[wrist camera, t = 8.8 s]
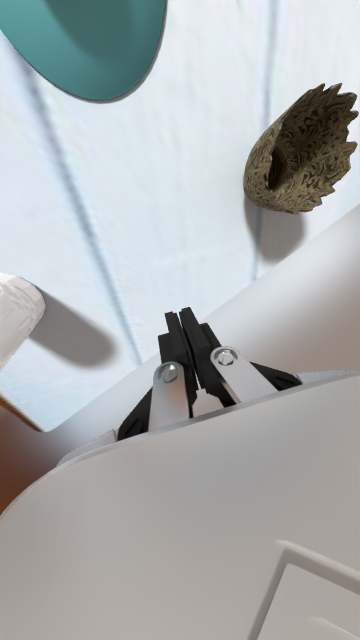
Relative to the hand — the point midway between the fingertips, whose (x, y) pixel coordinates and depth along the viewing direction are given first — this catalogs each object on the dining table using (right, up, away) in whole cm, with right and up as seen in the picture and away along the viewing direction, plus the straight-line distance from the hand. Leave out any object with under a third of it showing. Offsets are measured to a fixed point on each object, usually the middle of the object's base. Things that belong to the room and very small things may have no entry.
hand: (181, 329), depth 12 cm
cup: (+9, +17, +9) cm, 21 cm away
